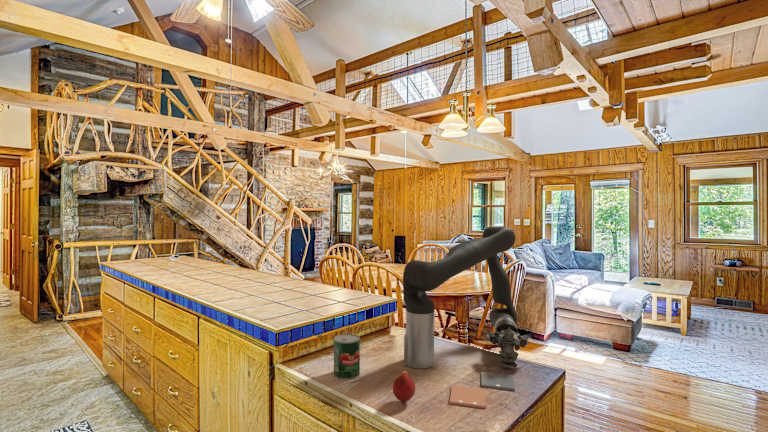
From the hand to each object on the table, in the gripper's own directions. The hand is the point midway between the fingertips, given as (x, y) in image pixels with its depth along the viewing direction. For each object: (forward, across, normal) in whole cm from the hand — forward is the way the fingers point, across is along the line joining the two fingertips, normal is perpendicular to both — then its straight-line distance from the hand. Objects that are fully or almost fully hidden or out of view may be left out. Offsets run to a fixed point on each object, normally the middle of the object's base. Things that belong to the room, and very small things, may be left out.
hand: (509, 346), depth 118 cm
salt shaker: (-3, 0, +7) cm, 7 cm away
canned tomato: (+15, -48, +8) cm, 51 cm away
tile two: (+20, -12, +8) cm, 25 cm away
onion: (+27, -28, +8) cm, 40 cm away
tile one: (+8, -4, +8) cm, 12 cm away
